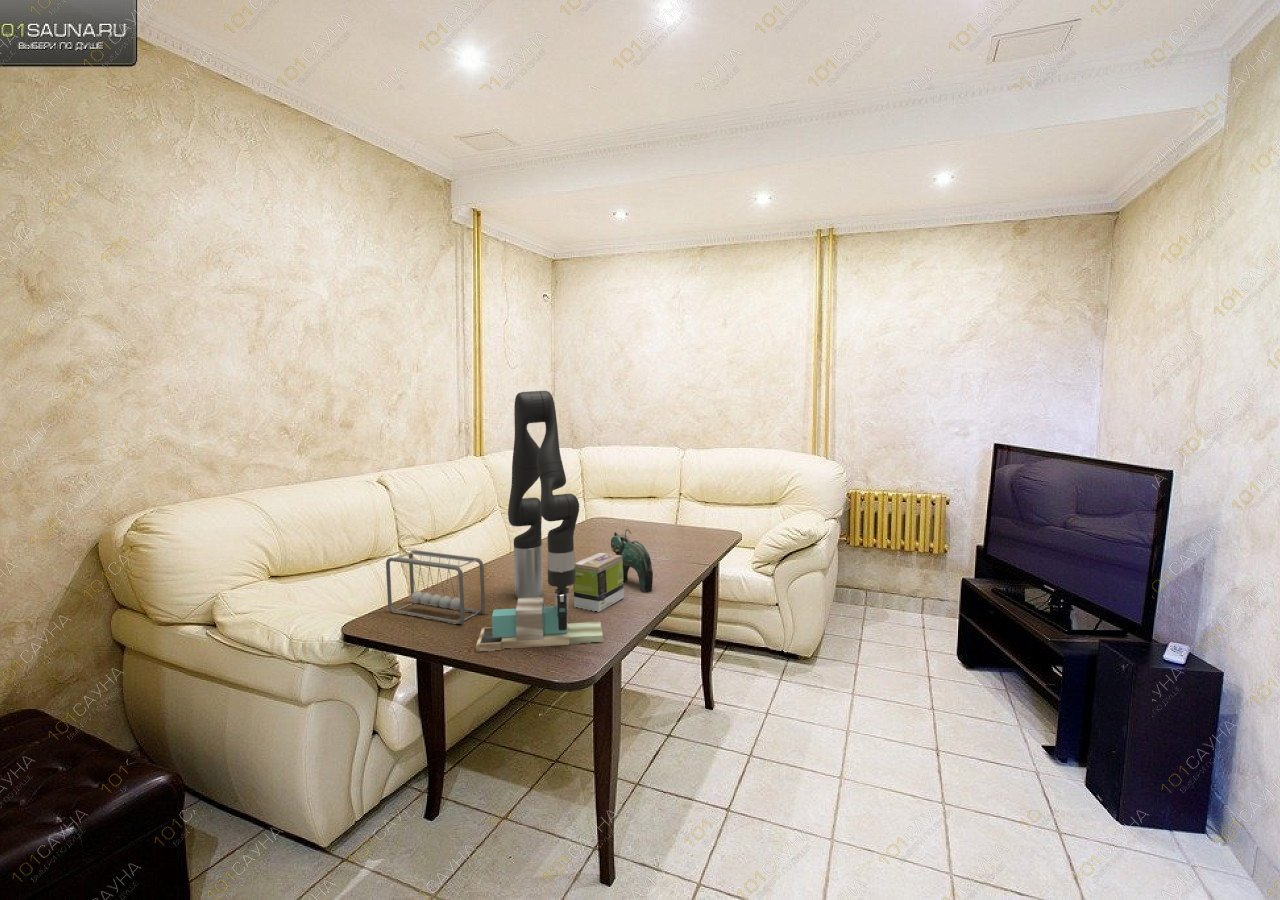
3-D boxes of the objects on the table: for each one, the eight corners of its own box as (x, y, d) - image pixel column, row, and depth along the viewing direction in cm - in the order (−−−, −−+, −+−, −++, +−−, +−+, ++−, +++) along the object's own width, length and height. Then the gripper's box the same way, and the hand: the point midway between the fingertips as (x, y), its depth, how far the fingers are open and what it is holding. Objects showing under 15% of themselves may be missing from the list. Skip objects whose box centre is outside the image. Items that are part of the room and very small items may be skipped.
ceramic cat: (609, 580, 213) (608, 526, 211) (624, 577, 217) (623, 524, 215) (643, 594, 197) (642, 536, 195) (657, 590, 201) (657, 533, 199)
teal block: (494, 630, 162) (493, 609, 161) (567, 626, 165) (566, 605, 164) (492, 637, 157) (491, 616, 156) (567, 633, 160) (566, 611, 159)
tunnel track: (482, 634, 165) (481, 599, 164) (600, 626, 169) (599, 592, 168) (476, 652, 153) (475, 614, 152) (603, 643, 158) (602, 607, 157)
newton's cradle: (486, 614, 181) (484, 558, 179) (463, 626, 171) (460, 567, 170) (412, 601, 193) (410, 549, 191) (387, 612, 183) (384, 557, 182)
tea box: (599, 593, 198) (599, 551, 197) (624, 598, 193) (624, 555, 192) (572, 607, 186) (571, 562, 184) (598, 613, 180) (597, 566, 179)
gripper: (548, 560, 167) (549, 615, 168) (546, 574, 153) (548, 634, 154) (574, 559, 168) (575, 613, 169) (575, 573, 154) (576, 633, 155)
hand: (562, 623), depth 162 cm, fingers open, 8 cm apart
